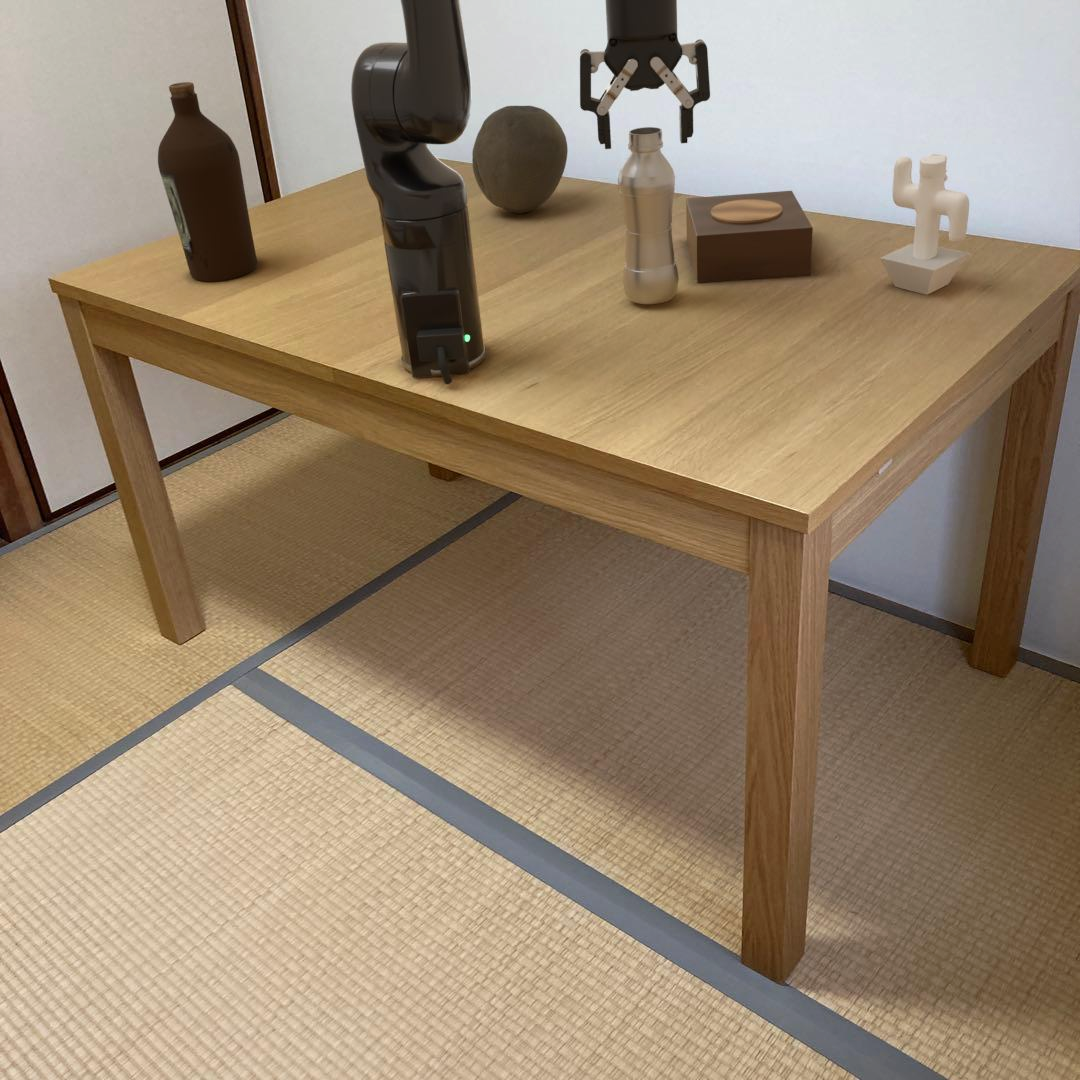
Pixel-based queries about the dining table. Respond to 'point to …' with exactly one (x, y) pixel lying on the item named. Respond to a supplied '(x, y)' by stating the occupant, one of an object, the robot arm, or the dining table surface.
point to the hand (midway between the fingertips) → (645, 144)
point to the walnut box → (748, 236)
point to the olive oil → (205, 192)
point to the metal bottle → (648, 219)
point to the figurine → (927, 227)
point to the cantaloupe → (519, 157)
